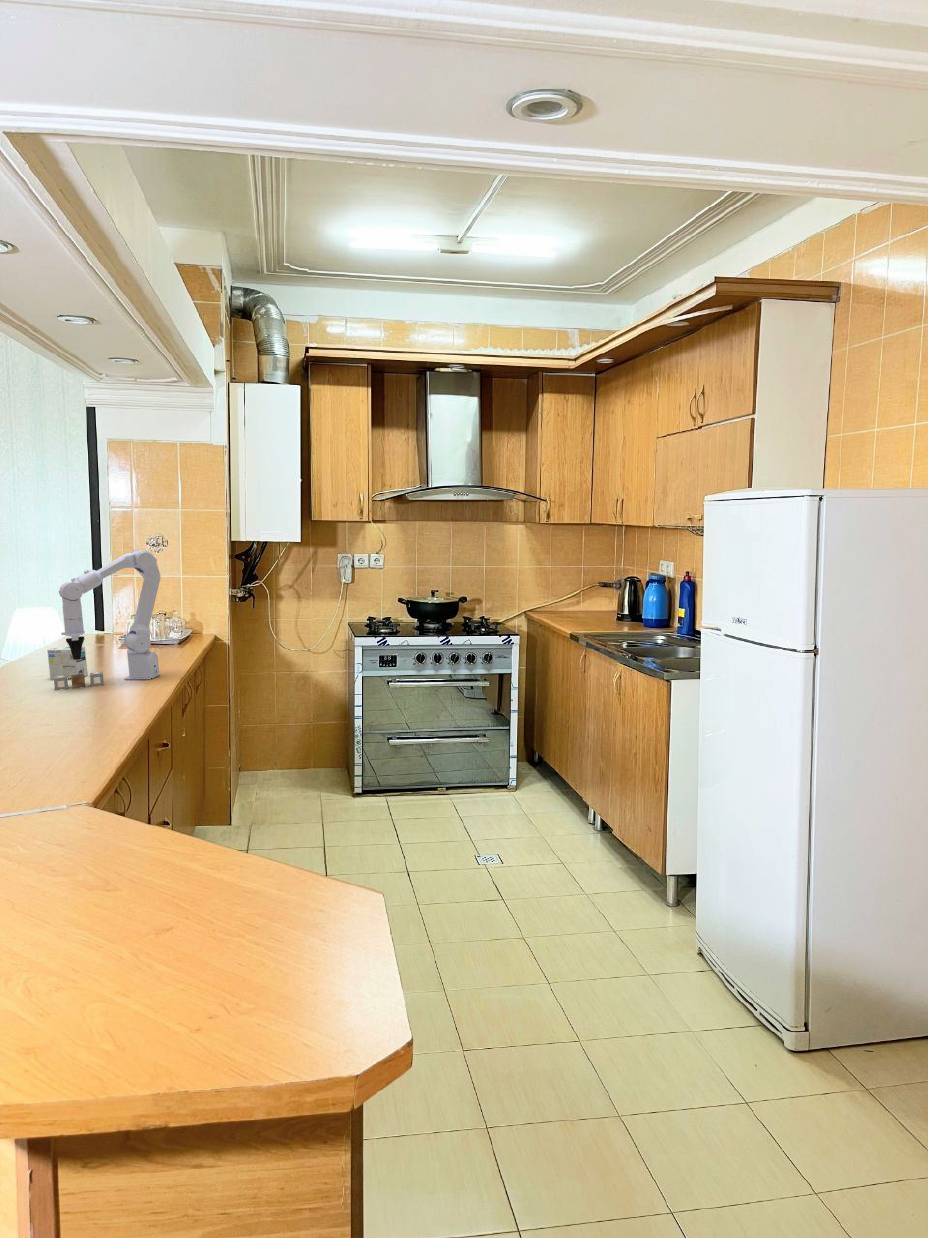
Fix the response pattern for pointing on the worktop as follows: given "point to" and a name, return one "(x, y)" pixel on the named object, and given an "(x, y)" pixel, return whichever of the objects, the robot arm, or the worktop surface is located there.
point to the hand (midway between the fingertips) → (77, 659)
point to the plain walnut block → (78, 680)
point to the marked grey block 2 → (96, 678)
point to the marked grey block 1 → (60, 682)
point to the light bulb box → (66, 662)
